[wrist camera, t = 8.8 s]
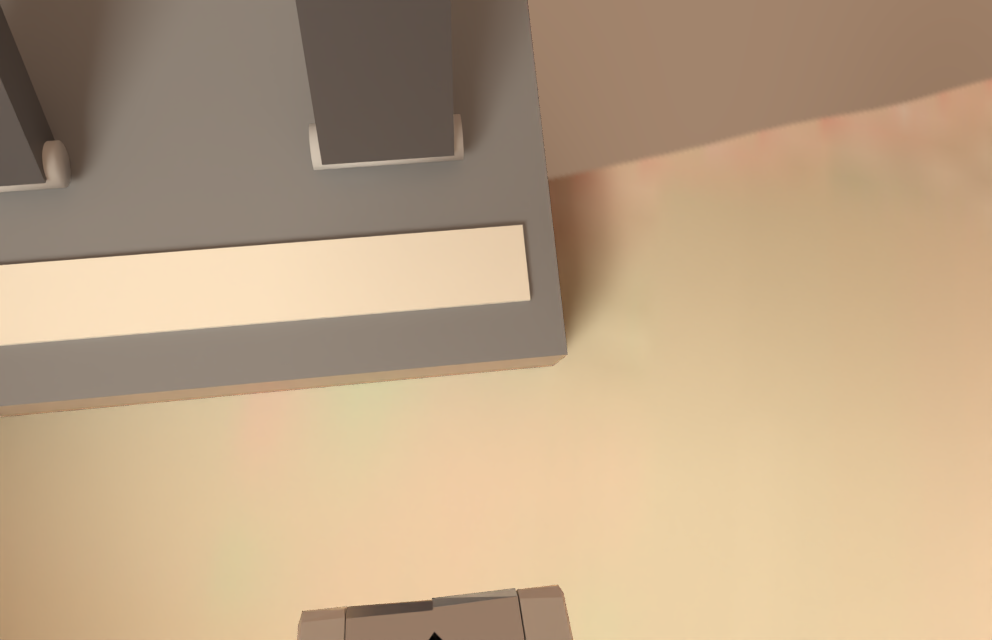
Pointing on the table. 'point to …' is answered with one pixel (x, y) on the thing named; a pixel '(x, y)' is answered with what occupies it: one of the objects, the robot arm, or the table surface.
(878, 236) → the table surface
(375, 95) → the lever
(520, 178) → the breaker panel
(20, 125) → the lever
